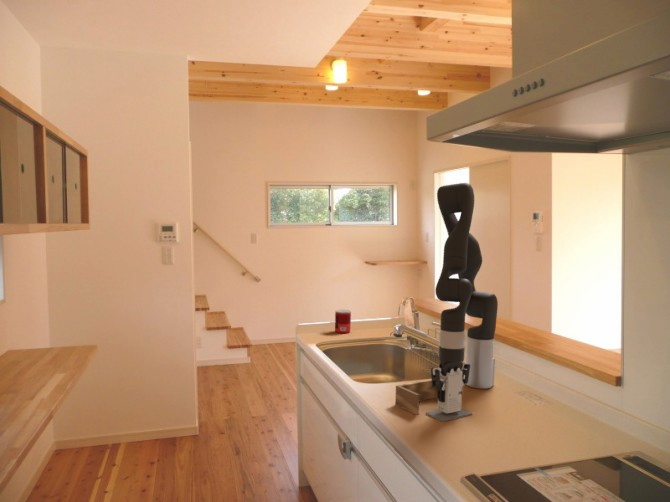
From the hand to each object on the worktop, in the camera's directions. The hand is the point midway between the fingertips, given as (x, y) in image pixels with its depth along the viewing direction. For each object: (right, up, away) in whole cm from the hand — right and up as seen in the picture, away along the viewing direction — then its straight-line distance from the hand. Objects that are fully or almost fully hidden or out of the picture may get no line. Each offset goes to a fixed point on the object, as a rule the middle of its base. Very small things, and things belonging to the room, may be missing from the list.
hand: (449, 399), depth 160 cm
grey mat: (0, -4, 0) cm, 4 cm away
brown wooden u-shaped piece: (-5, -4, +8) cm, 10 cm away
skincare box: (0, -3, 0) cm, 3 cm away
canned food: (-31, +3, +112) cm, 116 cm away
